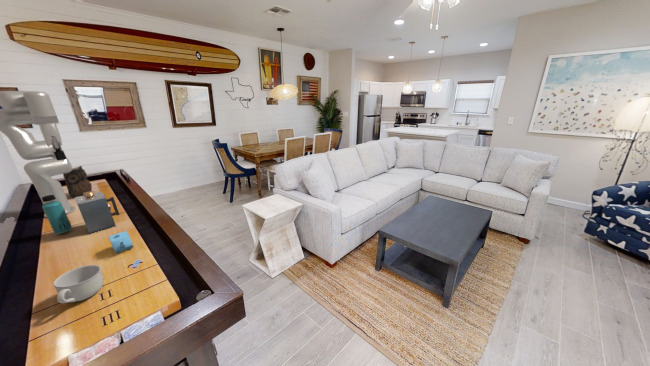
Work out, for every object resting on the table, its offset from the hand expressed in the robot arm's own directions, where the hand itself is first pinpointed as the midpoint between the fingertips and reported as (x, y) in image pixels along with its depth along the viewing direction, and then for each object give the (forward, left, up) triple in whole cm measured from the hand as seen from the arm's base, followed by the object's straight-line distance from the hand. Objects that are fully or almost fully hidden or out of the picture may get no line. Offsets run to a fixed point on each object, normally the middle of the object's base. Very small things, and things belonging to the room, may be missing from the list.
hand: (61, 159), depth 114 cm
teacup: (+69, -8, -36) cm, 78 cm away
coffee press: (+11, +6, -35) cm, 37 cm away
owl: (-63, +2, -35) cm, 73 cm away
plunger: (+11, +4, -34) cm, 35 cm away
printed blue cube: (+46, +7, -36) cm, 58 cm away
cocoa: (-9, +8, -36) cm, 38 cm away
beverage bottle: (+3, -9, -35) cm, 37 cm away
